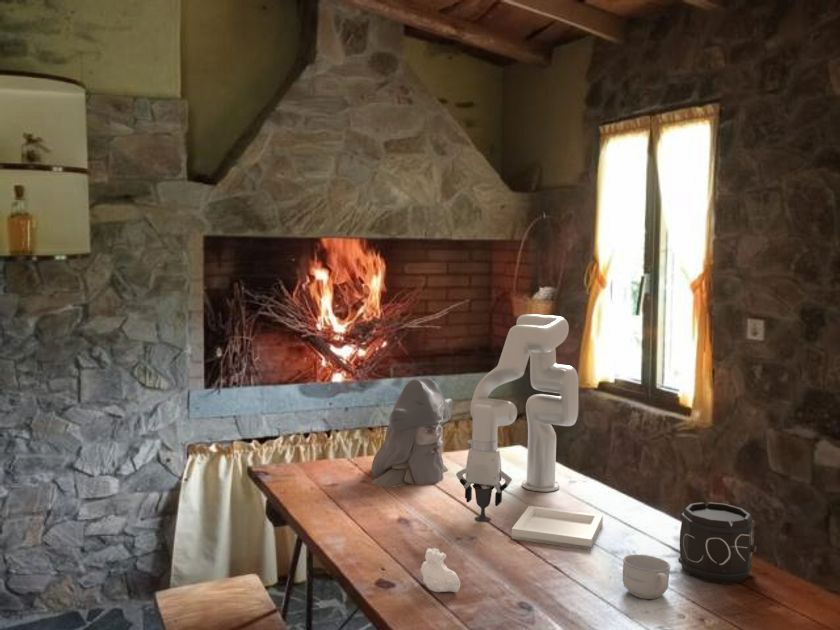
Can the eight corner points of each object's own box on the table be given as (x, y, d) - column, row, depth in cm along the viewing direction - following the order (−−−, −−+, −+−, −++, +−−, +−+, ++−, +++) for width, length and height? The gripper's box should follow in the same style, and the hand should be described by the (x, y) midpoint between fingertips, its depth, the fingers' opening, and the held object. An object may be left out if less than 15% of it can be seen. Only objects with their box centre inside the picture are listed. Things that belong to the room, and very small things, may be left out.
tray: (529, 515, 254) (529, 505, 254) (602, 524, 246) (602, 514, 246) (511, 538, 233) (511, 528, 233) (591, 550, 226) (591, 539, 226)
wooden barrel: (746, 592, 200) (750, 528, 198) (671, 575, 209) (673, 514, 208) (760, 568, 215) (763, 509, 214) (689, 554, 224) (692, 496, 223)
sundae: (494, 516, 253) (495, 467, 251) (493, 523, 246) (495, 473, 245) (472, 515, 253) (473, 466, 252) (471, 522, 247) (472, 472, 245)
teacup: (615, 585, 203) (617, 553, 202) (659, 584, 204) (660, 552, 203) (635, 610, 189) (636, 575, 189) (681, 609, 190) (683, 575, 189)
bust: (416, 496, 271) (418, 390, 267) (344, 476, 293) (345, 377, 290) (480, 476, 296) (482, 378, 293) (409, 458, 318) (411, 367, 315)
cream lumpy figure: (420, 590, 203) (399, 561, 198) (438, 565, 207) (418, 537, 201) (455, 606, 194) (434, 577, 189) (473, 580, 198) (453, 551, 193)
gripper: (452, 445, 247) (451, 502, 249) (510, 451, 241) (508, 510, 243) (460, 439, 254) (459, 495, 256) (516, 445, 248) (514, 502, 250)
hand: (483, 502), depth 249 cm, fingers open, 8 cm apart
